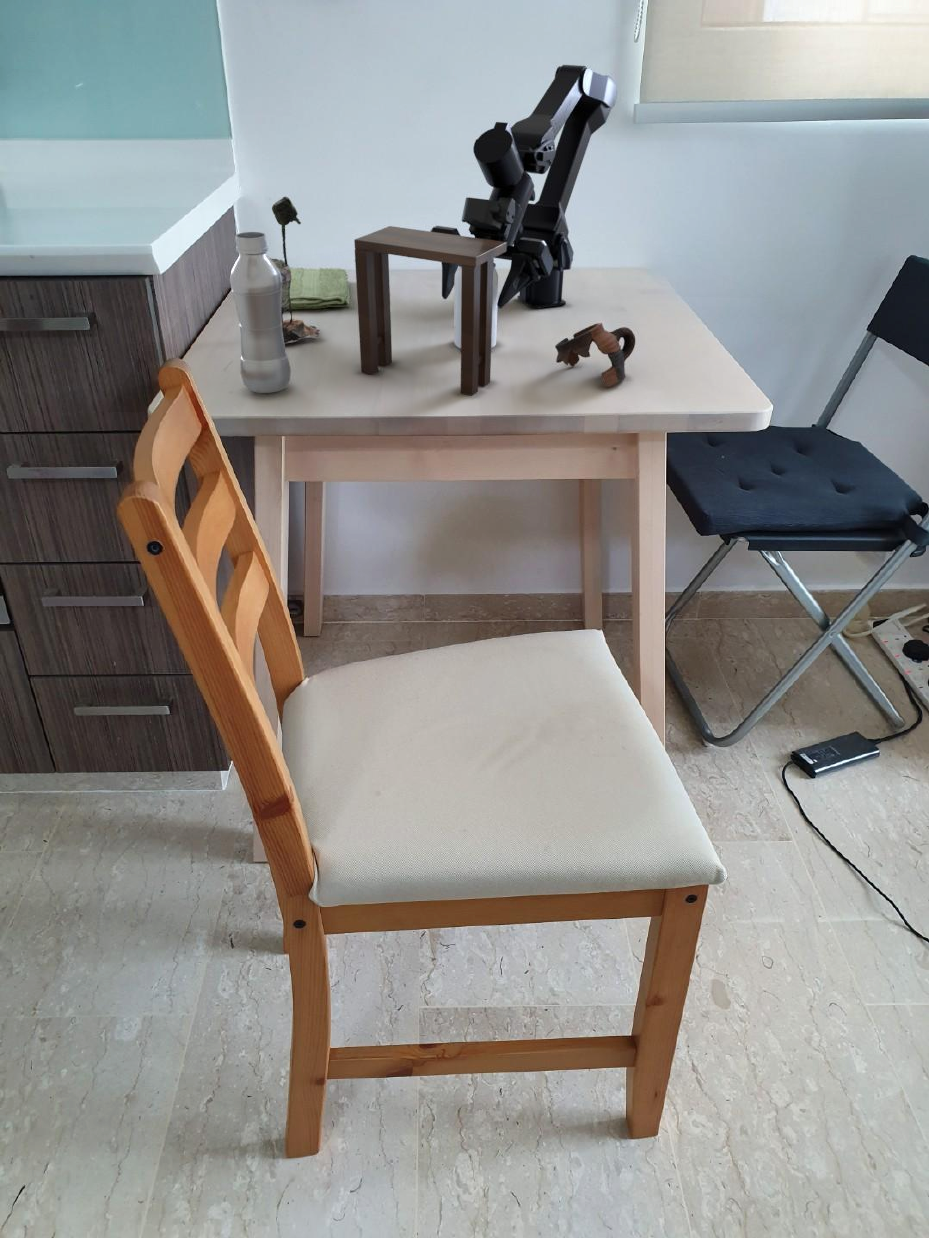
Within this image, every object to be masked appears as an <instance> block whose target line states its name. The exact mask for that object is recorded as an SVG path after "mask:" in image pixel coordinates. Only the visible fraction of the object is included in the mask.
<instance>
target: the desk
mask: <svg viewBox="0 0 929 1238" xmlns="http://www.w3.org/2000/svg"><path fill="white" fill-rule="evenodd" d="M506 249H507V242H502V241H495V240H488V239H480V238H475V237H472V236H465V235H461V236H459V235H451V234H444V233H437V232H430V231H428V230H421V229H415V228H406V227H400V226H393V225H389V226H387V227H384V228H381V229H379V230H376V231H373V232H371V233H368V234H366V235H365V234H364V235H362V236H360V237H358V238H355V239H354V261H355V262H354V263H355V279H356V281H355V283H356V299H357V314H358V315H357V316H358V317H357V318H358V334H359V335H358V336H359V337H358V338H359V354H360V355H359V356H360V370H361V371H360V372H361V374H366V375H371V376H372V375H375V374H376V373H378V372H379V366H382V367H387V366H389V365H391V364H393V349H392V348H393V347H392V345H393V344H392V319H391V317H392V316H391V290H390V289H391V287H390V263H389V261H390V259H389V255H393V256H398V257H405V258H411V259H412V258H413V259H419V260H426V261H432V262H439V263H441V262H445V263H451V264H458V265H462V294H461V349H460V394H463V395H468V396H471V397H472V396H474V395H475V394H477V393H478V392H479V386H480V387H487V385H489V384H490V383H491V373H492V372H491V371H492V370H491V368H492V367H491V366H492V349H491V337H492V302H493V267H494V263H495V262H494V261H495V260H494V259H495V258H494V257H496V256H498V255H500V254H502V253H504V252H506Z"/></svg>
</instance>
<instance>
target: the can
mask: <svg viewBox="0 0 929 1238" xmlns="http://www.w3.org/2000/svg"><path fill="white" fill-rule="evenodd" d="M457 265H458V264H457ZM496 266H497V265H496V262H494V267H493V302H492V337H491V350H492V349H494V347H495V346H496V344H497V331H498V330H497V329H498V328H497V326H498V324H497V323H498V306H497V303H498V299H499V273H498V271H497V269H496ZM453 288H454V289H453V291H454V293H453V294H454V295H453V298H454V299H453V302H454V303H453V304H454V305H453V313H454V314H453V338H454V339H453V343H454V345H455V346H456V347H457V348H458V349H459V350H461V294H462V265H458V268H457V271H456V273H455V281H454V286H453Z"/></svg>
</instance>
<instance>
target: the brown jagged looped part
mask: <svg viewBox="0 0 929 1238" xmlns="http://www.w3.org/2000/svg"><path fill="white" fill-rule="evenodd" d="M572 336H573V338H570V339H569V338H568V337H565V338H563V339H562V340H560V341H559V342H558V343H557V344H555V346H554V348H555V349H556V351H557V356H556V359H555V362H556V363H562V362H563V364H565V366H568V365H569V366H571V367H575V366H576V365H577V364H578V363H579V361H580V357H582V358H590V357H591V354H590V349H591V345H592V343H594V344H595V346H596V347H597V350H598V351H599V352H600V353H601V354H603V355H607V357H608V359H609V361H610V362H611V366H610V368H608V369H607V370H604V371H602V373H601V377H602V379H603V381H604V387H605V388H606V389H608V388H610V387H613V386H614V385H616V384H617V383H620V382H621V381H624V379H625V378H626V369H625V362H626V360H627V359H628V358H629V357H630V356H631V355H632V354H633V352H634V349H635V346H636V336H635V333H634V331H633V330H632V329H630V328H629V327H627V326H624V327H623V326H622V327H619V328H616V329H614V330H613V331H608V330H605V327H604V324H603V323H602V322H598V323H597V322H596V323H594V324H592V325H590V326H589V325H588V327H585V328H583V329H581V330H579V331H577V332H575V333H573V335H572ZM621 339H623V346H621V344H620V340H621Z"/></svg>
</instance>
